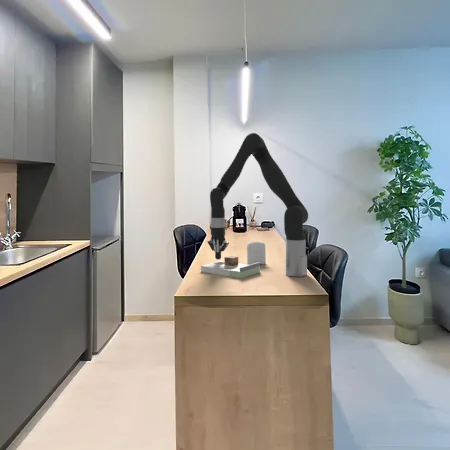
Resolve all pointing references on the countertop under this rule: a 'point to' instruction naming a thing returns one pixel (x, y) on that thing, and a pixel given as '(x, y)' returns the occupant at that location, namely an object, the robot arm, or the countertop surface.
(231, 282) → the countertop surface
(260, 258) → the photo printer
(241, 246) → the countertop surface
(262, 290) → the countertop surface
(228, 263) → the walnut block
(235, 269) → the box
